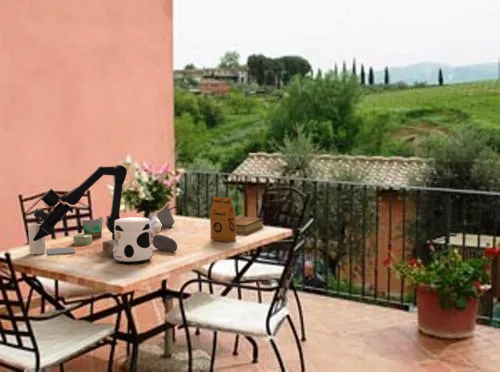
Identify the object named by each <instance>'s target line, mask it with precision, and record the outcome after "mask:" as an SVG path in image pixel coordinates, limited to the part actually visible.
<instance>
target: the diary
mask: <svg viewBox="0 0 500 372" xmlns="http://www.w3.org/2000/svg"><path fill="white" fill-rule="evenodd" d="M263 221H264V217H253V216H243V215H242V216H239V215H235V222H236V235H248V234H251V233H253V232H255V230H256V231H258V230H260V229H263V228H264V225H263Z"/></svg>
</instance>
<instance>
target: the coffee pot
mask: <svg viewBox="0 0 500 372" xmlns="http://www.w3.org/2000/svg"><path fill="white" fill-rule="evenodd" d="M169 206H170V203H168V205H167V206H166V207H165V208H164V209H163V210H162V211H160V212H158V211H157V214H156V216H157V217H158V219H159V220H160V222H161V224H162V227H163V228H162V229H168V228H171V227H172V226H174V224H175V219H174V217H173V214H172V211H171V210H173V209H176V208H179V207H181V206H185V207H186V206H187V203H186V202H185V201H184V202H182V203H179V204H175V205H174V206H173V207H170V208H169Z"/></svg>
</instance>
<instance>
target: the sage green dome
mask: <svg viewBox="0 0 500 372" xmlns="http://www.w3.org/2000/svg"><path fill="white" fill-rule="evenodd" d="M72 238H73V239H72V241H73V245H74V244H75V246H87V244H88V245H91V244H93V239H92V235H91V234H84V233H78V234H74V235H73V236H72Z"/></svg>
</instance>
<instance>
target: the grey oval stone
mask: <svg viewBox="0 0 500 372" xmlns="http://www.w3.org/2000/svg"><path fill="white" fill-rule="evenodd" d="M152 245H153V248H155V249H157V250H159V251H164V252H169V253H174V252H176V251H177V250H178V244H177V242H176V240H175V239H173V238H171V237H169V236H166V235H164V234H155V235H154V236H153V237H152Z"/></svg>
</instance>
